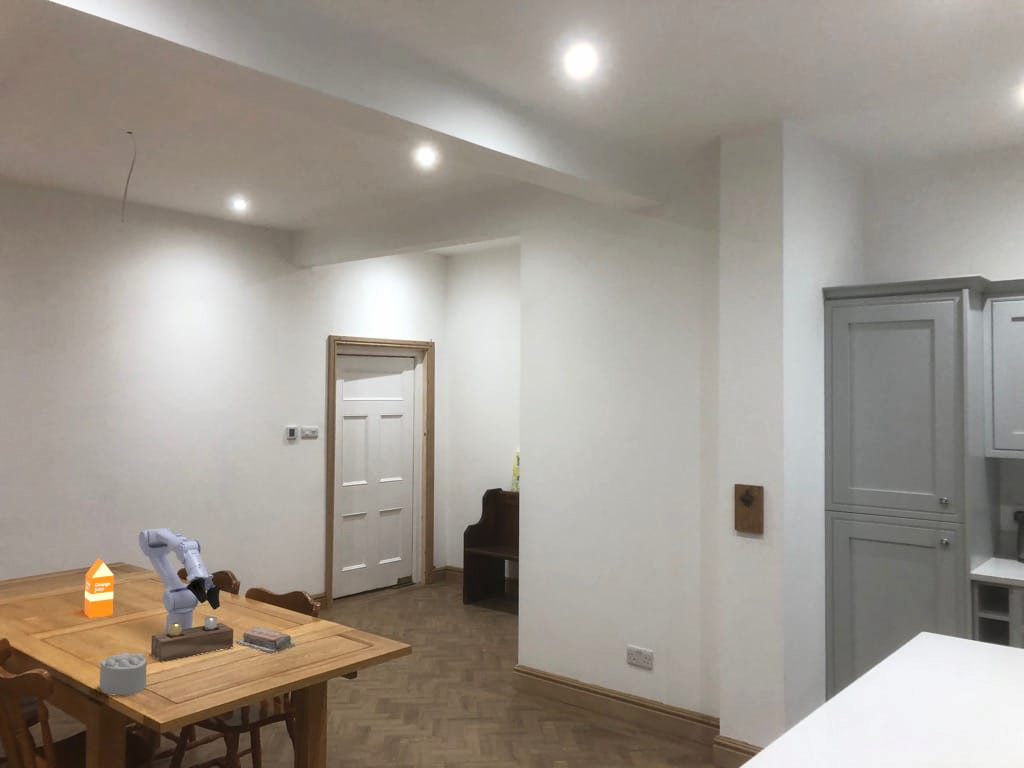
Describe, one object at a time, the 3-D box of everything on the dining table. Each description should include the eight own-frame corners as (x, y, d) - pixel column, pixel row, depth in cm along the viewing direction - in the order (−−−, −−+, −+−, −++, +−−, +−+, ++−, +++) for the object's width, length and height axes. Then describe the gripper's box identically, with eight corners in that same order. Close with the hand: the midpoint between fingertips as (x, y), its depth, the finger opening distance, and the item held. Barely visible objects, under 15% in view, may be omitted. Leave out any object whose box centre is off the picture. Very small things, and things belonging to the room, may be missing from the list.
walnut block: (151, 654, 241) (151, 634, 241) (220, 640, 256) (221, 622, 256) (161, 662, 233) (162, 642, 234) (232, 648, 248) (233, 629, 248)
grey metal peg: (202, 635, 248) (203, 617, 249) (213, 633, 251) (214, 615, 251) (206, 638, 246) (207, 620, 246) (218, 636, 248) (218, 618, 248)
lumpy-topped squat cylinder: (133, 677, 220) (134, 647, 220) (153, 689, 211) (155, 657, 212) (95, 687, 212) (96, 655, 212) (114, 699, 203) (115, 666, 204)
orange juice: (89, 618, 280) (91, 563, 281) (83, 613, 287) (85, 559, 287) (113, 614, 285) (115, 560, 286) (106, 609, 292) (108, 556, 293)
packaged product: (296, 632, 252) (272, 639, 243) (296, 647, 252) (271, 655, 243) (260, 623, 262) (235, 630, 253) (260, 637, 262) (235, 644, 253)
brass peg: (167, 642, 241) (167, 623, 241) (179, 640, 243) (179, 621, 244) (171, 645, 238) (171, 626, 239) (183, 642, 241) (183, 624, 241)
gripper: (195, 557, 247) (209, 590, 240) (218, 570, 259) (232, 603, 252) (176, 570, 246) (189, 604, 239) (200, 583, 258) (213, 616, 251)
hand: (210, 604), depth 245 cm, fingers open, 7 cm apart
